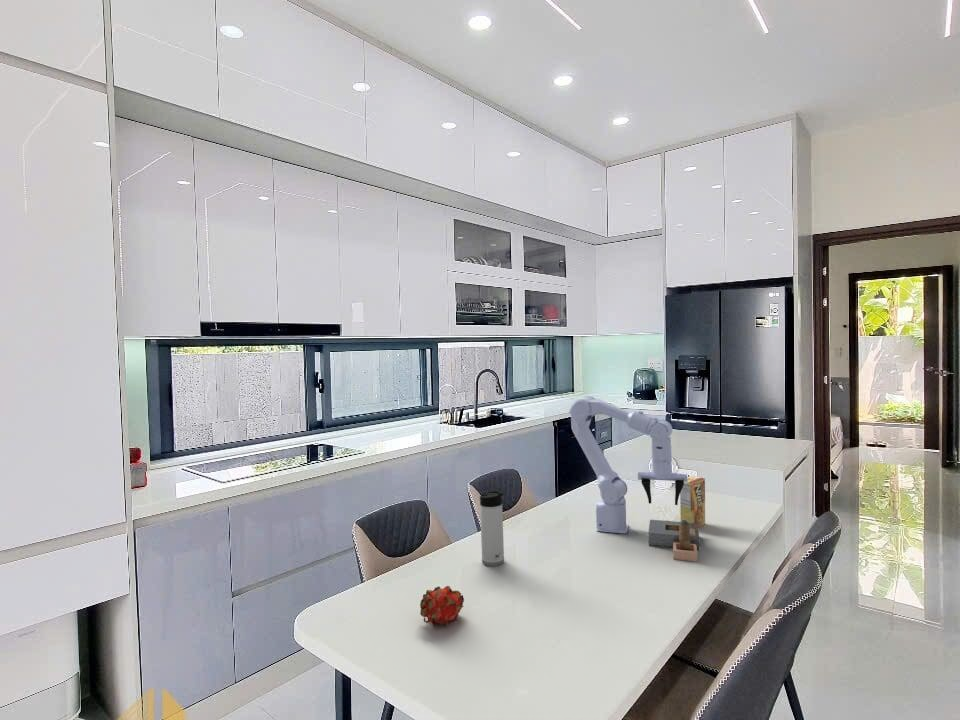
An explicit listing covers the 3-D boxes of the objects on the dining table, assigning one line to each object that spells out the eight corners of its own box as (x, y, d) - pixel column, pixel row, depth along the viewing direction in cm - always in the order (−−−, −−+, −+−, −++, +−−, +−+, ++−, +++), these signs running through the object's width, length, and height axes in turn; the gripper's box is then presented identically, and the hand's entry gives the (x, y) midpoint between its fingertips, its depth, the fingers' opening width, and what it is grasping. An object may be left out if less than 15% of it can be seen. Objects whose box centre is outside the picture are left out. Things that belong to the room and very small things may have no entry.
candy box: (694, 521, 178) (693, 475, 178) (706, 524, 175) (705, 478, 175) (680, 527, 173) (678, 480, 172) (692, 531, 169) (691, 483, 169)
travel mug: (503, 567, 147) (500, 495, 147) (480, 566, 149) (477, 495, 148) (506, 558, 154) (504, 489, 153) (484, 557, 155) (481, 488, 154)
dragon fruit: (416, 637, 117) (459, 625, 124) (435, 626, 112) (479, 614, 119) (406, 597, 121) (449, 588, 129) (425, 584, 116) (468, 576, 123)
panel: (648, 545, 159) (648, 531, 158) (650, 531, 170) (650, 518, 170) (699, 550, 154) (699, 536, 154) (697, 535, 165) (697, 522, 165)
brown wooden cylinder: (679, 556, 150) (678, 521, 149) (680, 552, 152) (679, 518, 152) (689, 557, 148) (689, 522, 148) (690, 554, 151) (689, 519, 151)
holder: (673, 559, 149) (673, 550, 149) (673, 550, 154) (673, 542, 154) (697, 561, 147) (697, 552, 146) (696, 552, 152) (696, 544, 152)
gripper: (636, 461, 164) (637, 505, 164) (687, 463, 159) (688, 508, 159) (638, 456, 170) (639, 499, 171) (686, 458, 165) (687, 501, 166)
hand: (663, 503), depth 165 cm, fingers open, 7 cm apart
